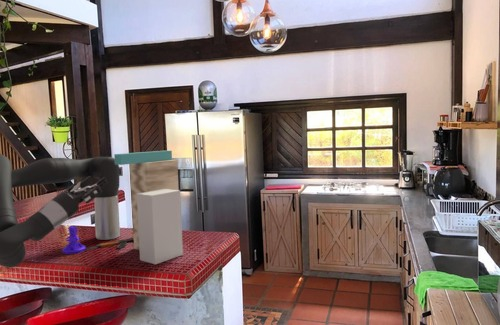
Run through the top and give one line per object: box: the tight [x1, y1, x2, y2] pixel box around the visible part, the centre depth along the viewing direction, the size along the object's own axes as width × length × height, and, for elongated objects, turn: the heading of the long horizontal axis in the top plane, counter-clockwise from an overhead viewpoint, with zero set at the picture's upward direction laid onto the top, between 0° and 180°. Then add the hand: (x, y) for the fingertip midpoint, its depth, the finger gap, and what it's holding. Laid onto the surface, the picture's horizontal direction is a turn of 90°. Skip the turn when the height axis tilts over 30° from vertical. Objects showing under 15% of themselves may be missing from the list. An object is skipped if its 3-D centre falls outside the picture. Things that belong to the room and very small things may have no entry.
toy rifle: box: [83, 237, 134, 252], centre depth 152 cm, size 34×1×10 cm
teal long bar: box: [113, 150, 173, 166], centre depth 144 cm, size 4×22×4 cm, turn 142°
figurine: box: [61, 225, 87, 255], centre depth 146 cm, size 8×8×10 cm
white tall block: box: [137, 189, 184, 265], centre depth 135 cm, size 8×12×22 cm, turn 142°
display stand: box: [129, 159, 180, 251], centre depth 148 cm, size 10×14×32 cm
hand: (99, 178), depth 130 cm, fingers open, 8 cm apart
